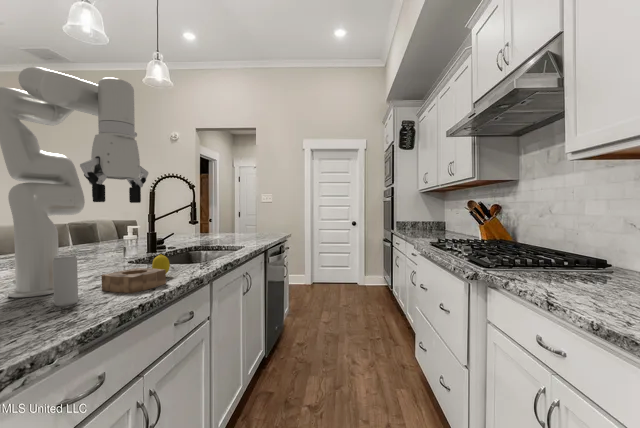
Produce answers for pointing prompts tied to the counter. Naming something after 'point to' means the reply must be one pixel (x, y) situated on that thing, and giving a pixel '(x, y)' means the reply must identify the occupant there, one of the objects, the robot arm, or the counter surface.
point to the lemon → (161, 263)
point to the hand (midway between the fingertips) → (118, 202)
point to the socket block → (133, 280)
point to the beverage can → (65, 280)
